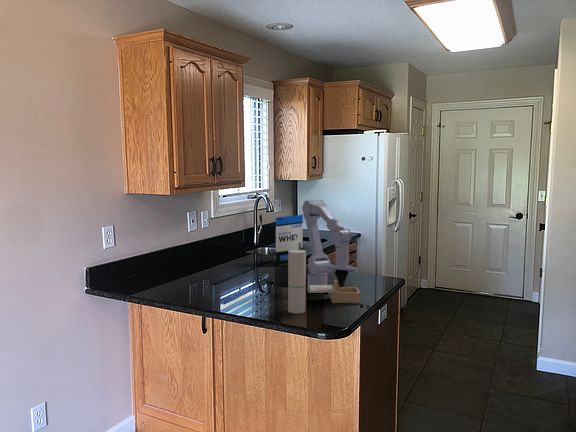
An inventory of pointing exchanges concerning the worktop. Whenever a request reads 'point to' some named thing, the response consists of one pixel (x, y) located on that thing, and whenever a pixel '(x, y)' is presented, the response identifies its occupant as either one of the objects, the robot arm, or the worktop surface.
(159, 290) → the worktop surface
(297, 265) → the cylindrical container
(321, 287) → the mailer lid
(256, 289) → the worktop surface
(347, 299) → the box
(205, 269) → the worktop surface
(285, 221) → the protein powder
